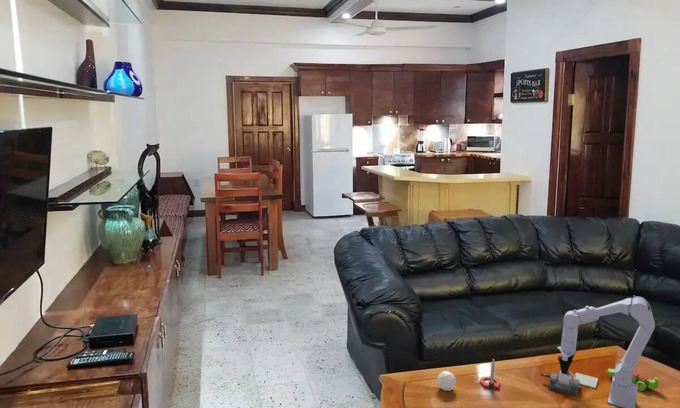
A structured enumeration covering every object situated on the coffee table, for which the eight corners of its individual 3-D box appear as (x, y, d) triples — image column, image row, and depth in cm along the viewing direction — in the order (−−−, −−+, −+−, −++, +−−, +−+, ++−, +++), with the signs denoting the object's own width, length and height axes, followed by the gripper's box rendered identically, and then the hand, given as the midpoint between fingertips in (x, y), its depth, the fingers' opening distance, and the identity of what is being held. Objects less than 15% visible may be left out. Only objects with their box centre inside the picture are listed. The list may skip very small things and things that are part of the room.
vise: (579, 386, 223) (581, 372, 221) (576, 396, 215) (577, 381, 214) (542, 376, 230) (543, 362, 229) (538, 385, 223) (539, 371, 222)
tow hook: (478, 378, 228) (481, 388, 219) (480, 350, 227) (483, 359, 217) (498, 380, 227) (501, 390, 218) (500, 352, 225) (504, 361, 216)
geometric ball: (449, 393, 220) (462, 380, 218) (443, 396, 213) (456, 382, 211) (436, 379, 223) (448, 366, 222) (430, 381, 216) (443, 367, 215)
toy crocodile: (604, 378, 230) (606, 365, 229) (609, 373, 235) (610, 360, 234) (655, 396, 217) (657, 382, 216) (659, 390, 222) (661, 376, 221)
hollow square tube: (575, 383, 221) (576, 372, 220) (573, 388, 217) (575, 377, 217) (559, 379, 224) (561, 368, 223) (557, 383, 221) (559, 372, 220)
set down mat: (598, 379, 229) (598, 378, 229) (595, 388, 221) (595, 387, 221) (575, 373, 233) (575, 372, 233) (572, 382, 226) (572, 381, 226)
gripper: (562, 331, 226) (558, 360, 228) (555, 343, 214) (552, 374, 216) (579, 335, 222) (576, 364, 225) (574, 348, 210) (570, 379, 213)
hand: (565, 369), depth 220 cm, fingers open, 7 cm apart
